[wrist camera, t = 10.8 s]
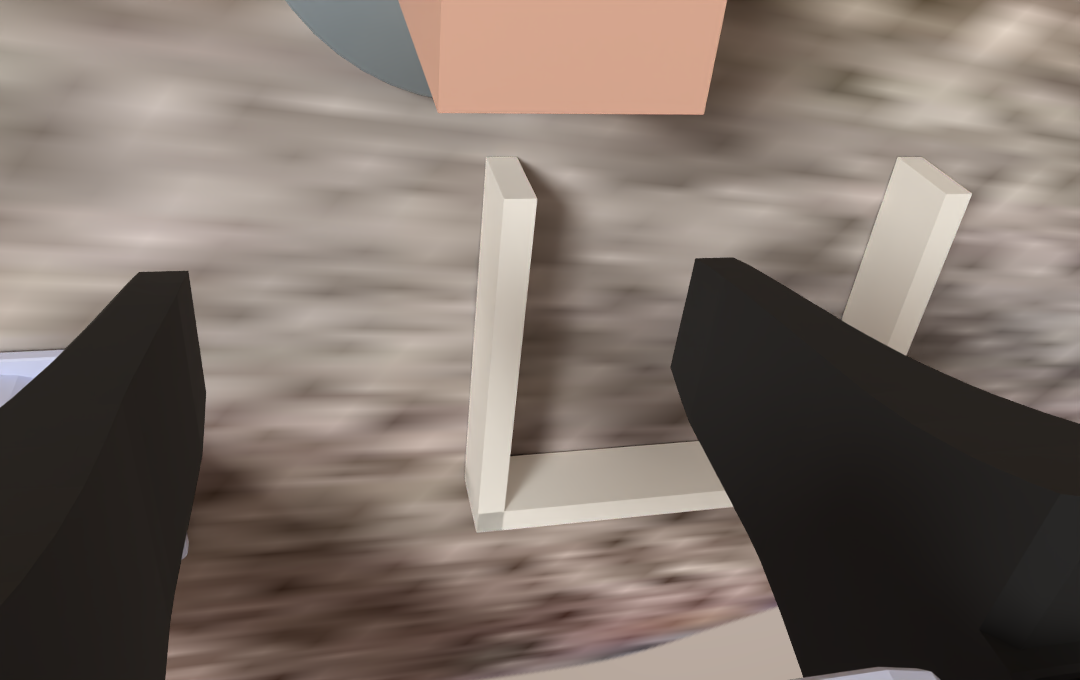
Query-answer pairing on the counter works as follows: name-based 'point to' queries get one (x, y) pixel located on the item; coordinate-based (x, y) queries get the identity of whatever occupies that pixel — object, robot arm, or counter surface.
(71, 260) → the counter surface
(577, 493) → the shelf bay
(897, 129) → the counter surface
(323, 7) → the coaster
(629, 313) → the counter surface
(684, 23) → the plain salmon-coloured rectangular block
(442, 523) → the counter surface
